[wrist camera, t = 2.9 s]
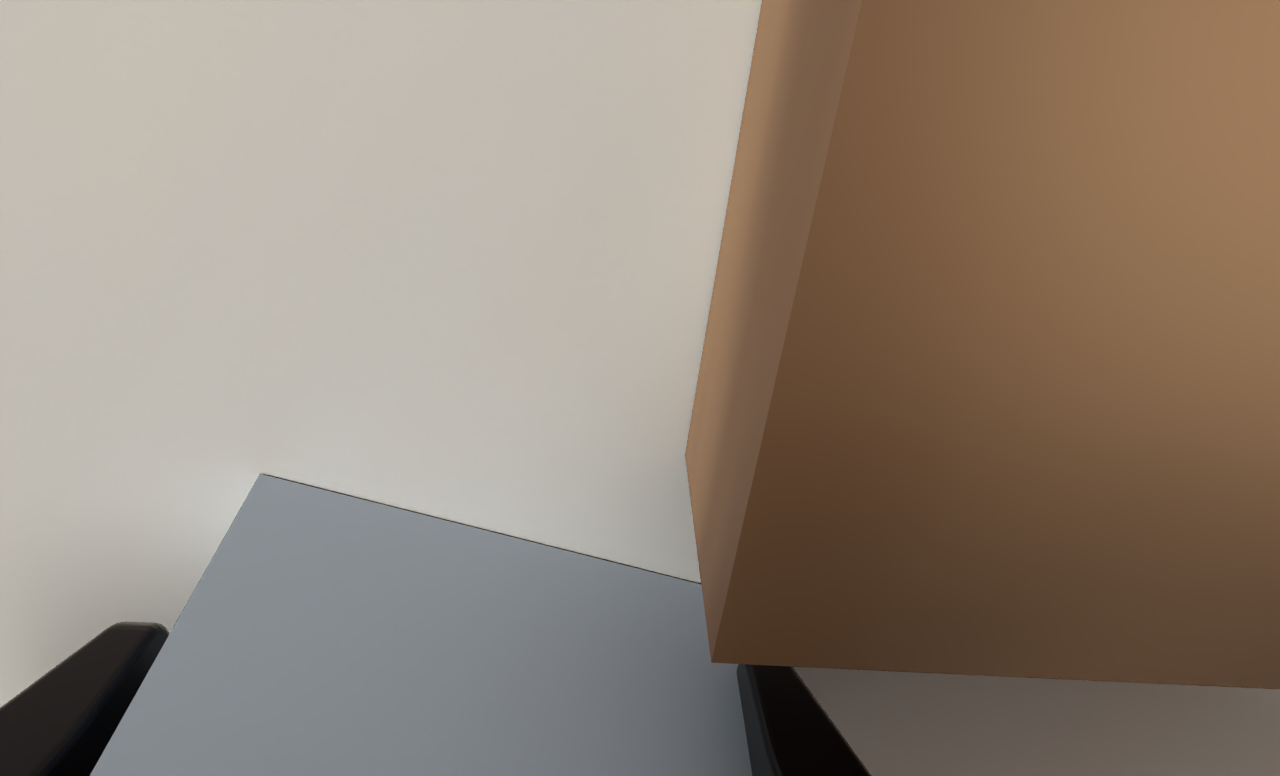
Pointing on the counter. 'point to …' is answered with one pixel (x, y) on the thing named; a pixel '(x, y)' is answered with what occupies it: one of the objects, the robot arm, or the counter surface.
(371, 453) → the counter surface
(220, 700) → the block
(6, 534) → the counter surface
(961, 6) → the base
